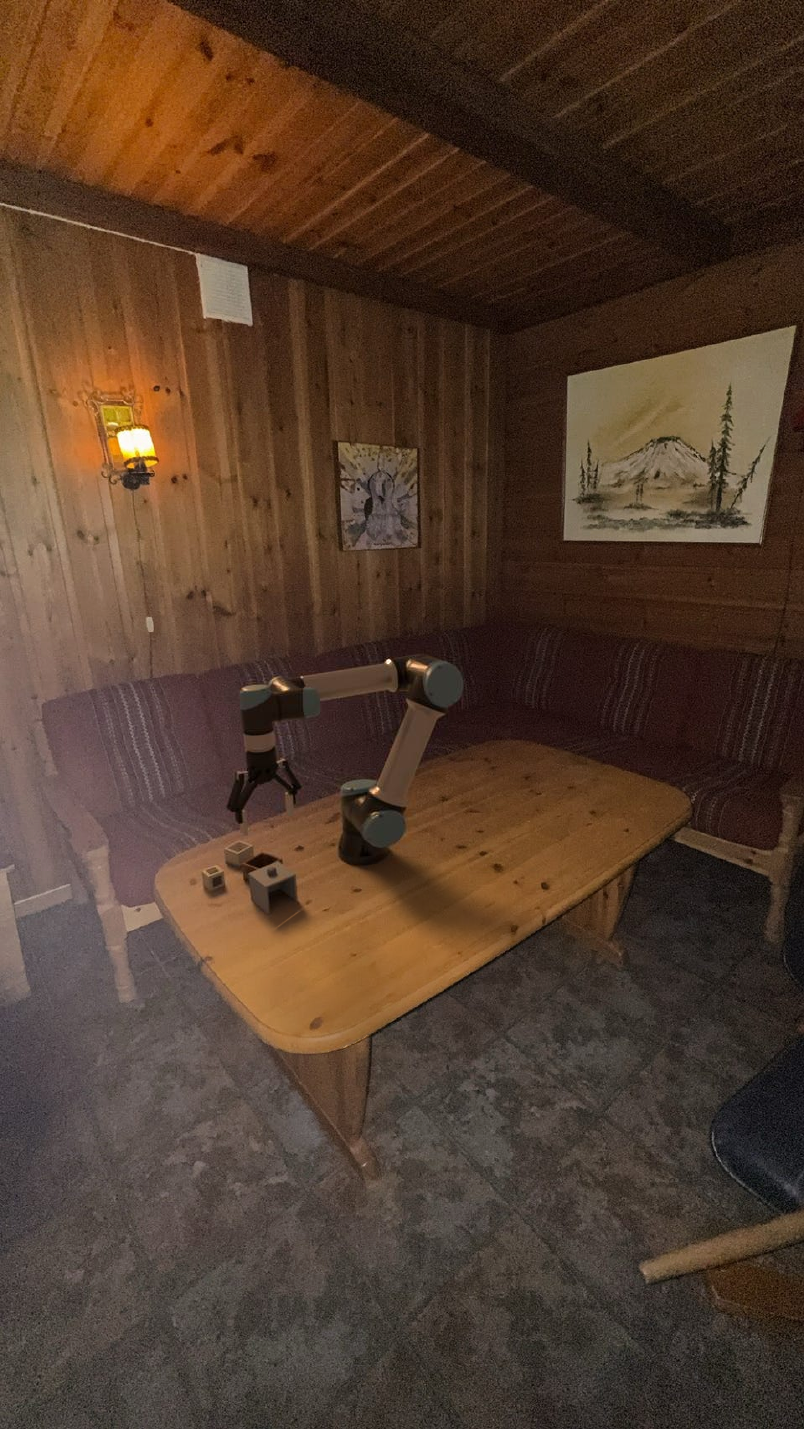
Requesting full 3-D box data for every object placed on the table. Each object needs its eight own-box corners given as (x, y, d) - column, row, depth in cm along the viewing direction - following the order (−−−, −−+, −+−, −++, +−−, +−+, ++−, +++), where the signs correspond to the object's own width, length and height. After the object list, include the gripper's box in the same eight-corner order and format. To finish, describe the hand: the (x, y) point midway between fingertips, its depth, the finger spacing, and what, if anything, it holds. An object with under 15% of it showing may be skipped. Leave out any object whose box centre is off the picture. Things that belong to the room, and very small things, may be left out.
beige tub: (254, 858, 188) (253, 845, 187) (239, 867, 184) (237, 853, 182) (240, 853, 192) (239, 840, 190) (225, 862, 187) (223, 848, 186)
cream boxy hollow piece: (225, 885, 175) (223, 870, 173) (210, 891, 172) (208, 876, 170) (218, 878, 178) (216, 864, 177) (203, 884, 175) (201, 870, 174)
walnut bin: (283, 874, 179) (282, 858, 178) (263, 887, 173) (262, 871, 172) (263, 866, 184) (262, 851, 182) (243, 879, 177) (241, 863, 176)
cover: (297, 900, 166) (295, 869, 164) (268, 914, 161) (265, 882, 158) (280, 886, 173) (277, 857, 170) (251, 899, 167) (247, 869, 165)
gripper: (294, 732, 165) (301, 805, 171) (206, 756, 150) (216, 836, 156) (310, 738, 160) (316, 814, 166) (220, 764, 144) (230, 846, 150)
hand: (268, 825), depth 161 cm, fingers open, 13 cm apart
